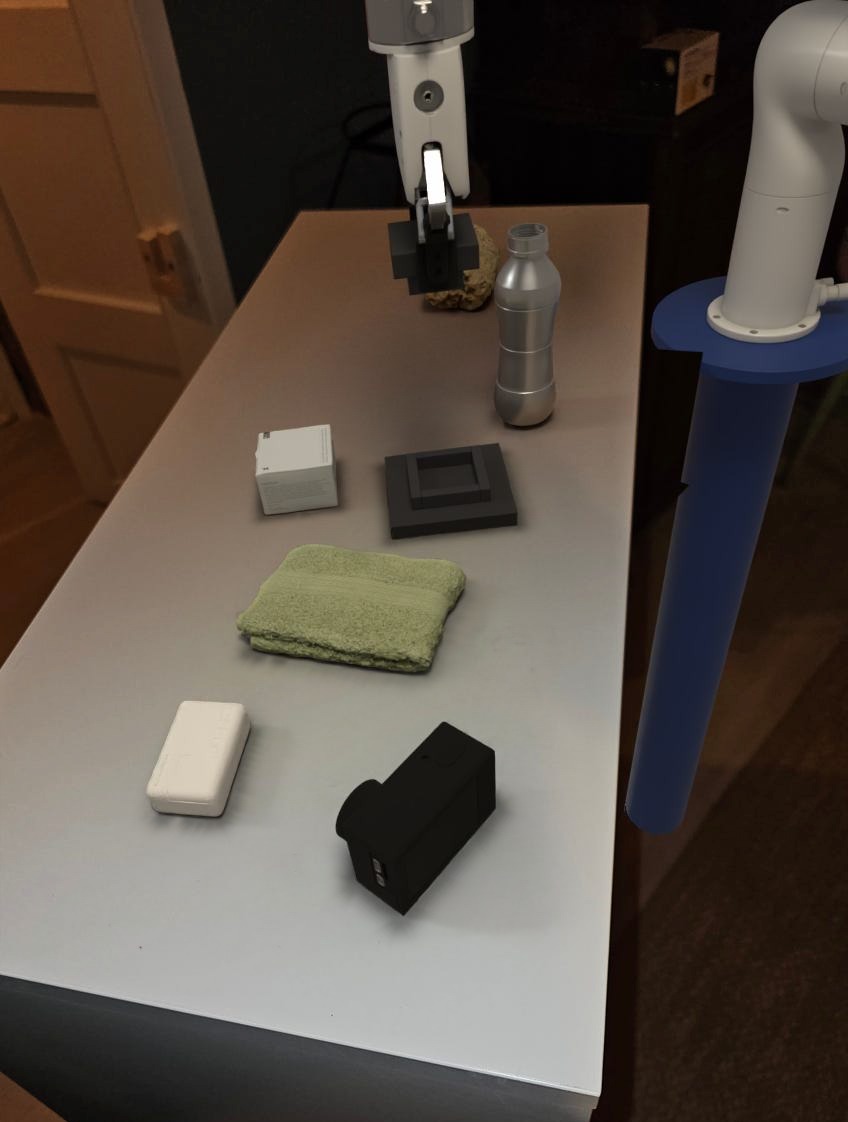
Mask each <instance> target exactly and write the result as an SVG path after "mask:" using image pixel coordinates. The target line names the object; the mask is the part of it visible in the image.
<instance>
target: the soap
mask: <svg viewBox="0 0 848 1122" xmlns="http://www.w3.org/2000/svg"><path fill="white" fill-rule="evenodd" d="M251 725H252V724H251V720H250V717H249V714H248V711H247V709H246V707H245V705H244V704H243V703H239V702H227V701H225V702H224V701H203V700H184V701H182V702H181V703H180V705H179V707H178V710H177V712H176V715H175V717H174V719H173V722H172V724H171V726H170V729H169V731H168V733H167V737H166V739H165V742H164V744H163V746H162V749H161V751H160V753H159V756H158V759H157V761H156V764H155V766H154V769H153V771H152V774H151V776H150V778H149V781H148V783H147V785H146V789H145V790H146V791H145V792H146V795H147V798H148V799H149V801H150V802H151V805H152V806H153V808H154V810H156V811H157V812H160V813H167V814H179V815H188V816H189V815H190V816H204V817H218V816H220V815H222V813H224V809H225V807H226V805H227V800H228V798H229V794H230V792H231V789H232V788H231V787H232V786H233V782H234V779H235V776H236V774H237V770H238V766H239V763H240V761H241V758H242V754H243V750H244V748H245V745H246V743H247V739H248V736H249V733H250V730H251Z"/></svg>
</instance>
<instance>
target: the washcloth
mask: <svg viewBox="0 0 848 1122" xmlns="http://www.w3.org/2000/svg"><path fill="white" fill-rule="evenodd" d="M466 580H467V575H466V574H465V572H464V570H463V569H462V568H461V567H460V566H459V565H458V564H456V563H455V562H452V561H450V560H448V559H439V558H413V557H407V556H401V555H398V554H393V553H382V552H375V551H366V550H365V551H364V550H356V549H355V550H354V549H350V548H347V547H340V546H334V545H329V544H323V543H308V544H303V545H297V546H295V547H293V548H292V549H291V550H290V551H289V552H288V553H287V554H286V555H285V557H284V560H283V561H282V562H281V563H280V565H278V567H277V568H276V569H275V570H274V571H273V573H272V574H270V576H268V578H266V579H265V580H264V582H263V583H262V584H261V585H260V587H259V589H258V594H257V595H256V597H255V599H254V600H253V602H252V603H251V604H250V605H249V606H248V607H247V609H245V610H244V611H242V613H241V614H240V615H239V616H238V617H237V619H236V621H235V625H236V629H237V630H238V631H240V634H242V635H244V636H245V637H250V646H251V648H252V649H255V650H257V651H261V652H270V653H275V654H276V653H277V654H285V655H289V656H290V657H295V658H301V657H307V658H313V659H315V660H322V661H329V662H330V661H331V662H336V663H340V662H341V663H343V664H345V663H346V664H347V665H348V664H349V665H358V666H361V667H368V668H374V667H375V668H378V669H381V668H382V669H388V670H392V671H405V672H406V673H416V672H417V673H418V672H421V671H426V670H428V669H429V667H430V666H431V664H432V663H433V661H432V659H433V657H434V656H435V651H436V649H435V647H437V646H439V641H440V639H441V638H442V635H443V633H444V631H445V628H444V624H445V622H446V618H447V616H448V613H449V611H451V610H453V609H454V607H455V605H456V601H457V600H458V597H459V596H460V595H461V593H462V591H463V589H464V588H465V587H466V584H467V583H466Z"/></svg>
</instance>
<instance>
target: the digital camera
mask: <svg viewBox="0 0 848 1122" xmlns="http://www.w3.org/2000/svg"><path fill="white" fill-rule="evenodd" d="M496 778H497V777H496V750H494V749H493V748H492V747H490V746H488V745H486V744H485V743H483V742H482V741H480V740H478V739H477V738H474V737H473V736H471V735H470V734H468V733H466V732H464V731H463V730H461V729H459V728H458V727H456V726H454V725H452V724H450V723H449V722H447V721H441V722H440V723H439V724H438V725H437V726H436V728H434V729H433V730H432V732H431V733H429V734H428V735H427V737H425V739H424V740H423V741H422V742H421V743H420V744H419V745H418V746H417V747H416V748H415V749H414V750H413V751H412V752H410V754H409V755H408V756H407V757H406V758H405V759H404V760H403V761H402V762H401V764H399V765H398V767H396V769H395V770H393V772H392V773H391V774H390V775H389V776H388V777H387V778H386V779H385V780H384V781H383V782H382V783H381V782H380V781H379V780H377V779H375V778H370V779H366V780H364V781H363V782H361V783H360V784H358V785H357V786H356V787H355V788H354V789H353V790H352V791H351V792H350V793H349V795H348V796H347V797H346V798H345V800H344V802H343V803H342V806H340V809H339V811H338V814H337V817H336V820H335V833H336V835H337V836H338V837H339V838H341V839H342V840H343V841H345V842H346V845H347V848H348V853H349V856H350V860H351V861H350V862H351V865H352V868H353V873H354V876H355V880H356V881H357V883H359V884H361V886H363V887H364V888H365V889H367V890H368V891H370V892H371V893H373V894H374V895H375V896H376V897H378V898H379V899H380V900H382V901H383V902H384V903H385V904H387V905H388V906H390V907H391V908H392V909H393V910H394V911H396V912H397V913H399V914H400V915H401V916H402V917H403V916H405V915H406V914H407V913H408V912H409V910H410V909H411V908H412V907H413V906H414V905H415V904H416V902H417V901H418V900H419V899H420V898H421V896H422V895H423V894H424V893H425V892H426V891H427V889H428V888H429V887H430V886H431V885H432V884H433V883H434V881H436V879H437V878H438V877H439V875H440V874H441V873H442V872H443V871H444V870H445V869H446V867H447V866H448V865H449V864H450V863H451V862H452V860H453V859H454V858H455V857H456V856H457V855H458V854H459V852H460V851H461V850H462V849H463V847H464V846H465V845H466V844H467V843H468V842H469V841H470V839H471V838H472V837H473V836H474V835H475V833H476V832H477V831H478V830H479V829H480V828H481V826H483V824H484V823H485V822H486V821H487V820H488V818H489V817H490V816H491V815H492V814H493V812H495V810H496V809H497V788H496V787H497V784H496V783H497V779H496Z"/></svg>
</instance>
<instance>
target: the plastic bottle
mask: <svg viewBox="0 0 848 1122" xmlns="http://www.w3.org/2000/svg"><path fill="white" fill-rule="evenodd" d="M549 248H550V243H549V230H548V227H547V226H546V225H544V224H542V223H536V222H525V223H519V224H516V225H514V226H511V227H510V228H509V229H508V230H507V245H506V253H507V254H508V255H509V257H508V258H507V260H506V261H505V263H504V264H503V266H502V267H501V268H500V271H499V272H498V274H497V276H496V277H495V284H494V288H493V297H494V303H495V310H496V318H497V326H498V339H499V342H498V343H499V344H498V345H499V355H498V365H497V375H496V380H495V383H494V389H493V390H494V391H493V397H492V399H493V404H494V409H495V412H496V414H497V415H498V417H499V418H500V419H501V420H502V422H505V423H506V424H509V425H513V426H517V427H518V426H519V427H526V426H533V425H537V424H540V423H542V422H544V421H545V420H546V419H547V418H548V417H549V416H550V415H551V414H552V412H553V410H554V408H555V403H556V399H557V387H556V380H555V376H554V358H553V357H554V356H553V344H554V335H555V325H556V319H557V314H558V308H559V303H560V298H561V293H562V287H563V286H562V285H563V283H562V279H561V275H560V272H559V270H558V268H556V266H555V264H554V263H553V262H552V260H551V259H550V258H549V256H548V255H547V252H548V251H549Z"/></svg>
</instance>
